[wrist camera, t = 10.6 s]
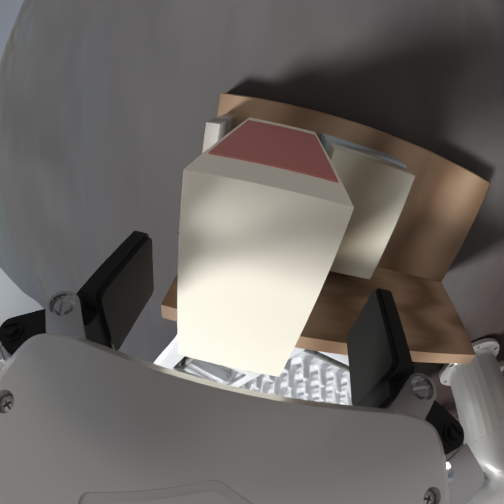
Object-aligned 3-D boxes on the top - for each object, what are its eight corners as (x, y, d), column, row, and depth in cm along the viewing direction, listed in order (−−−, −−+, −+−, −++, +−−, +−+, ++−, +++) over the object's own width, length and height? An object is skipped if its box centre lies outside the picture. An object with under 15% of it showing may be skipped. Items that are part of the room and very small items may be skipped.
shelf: (479, 176, 20) (555, 238, 10) (429, 279, 27) (467, 363, 17) (226, 92, 20) (166, 101, 10) (207, 228, 27) (162, 317, 17)
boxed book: (315, 131, 19) (354, 205, 8) (287, 233, 24) (279, 376, 13) (249, 116, 19) (183, 167, 8) (231, 220, 24) (178, 354, 13)
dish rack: (304, 427, 52) (303, 459, 45) (142, 360, 44) (126, 397, 37) (433, 360, 36) (444, 401, 29) (237, 231, 28) (219, 283, 21)
